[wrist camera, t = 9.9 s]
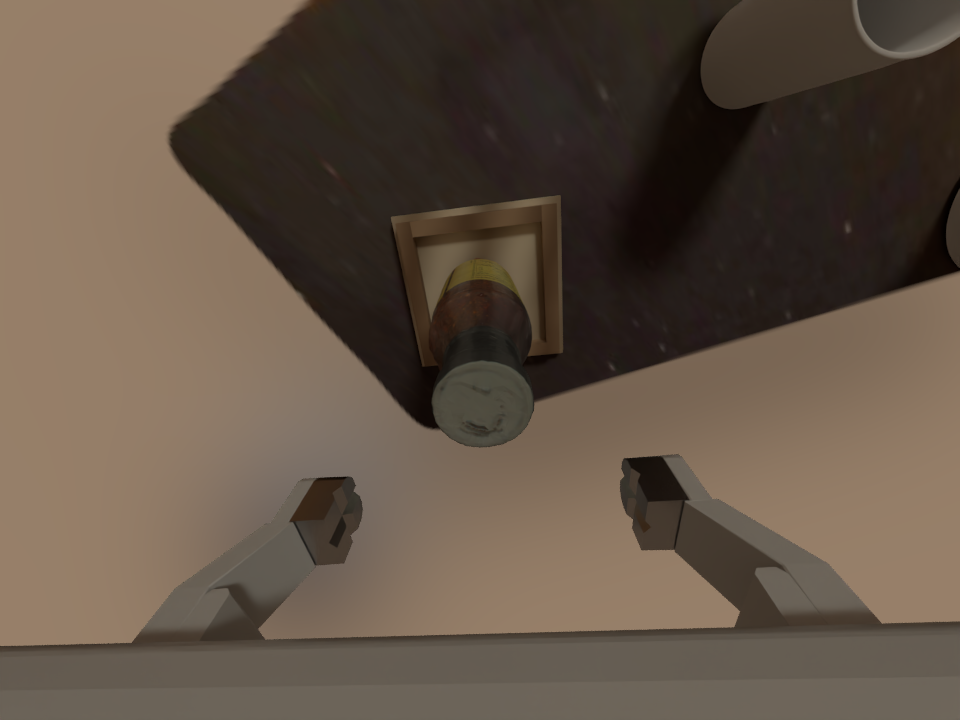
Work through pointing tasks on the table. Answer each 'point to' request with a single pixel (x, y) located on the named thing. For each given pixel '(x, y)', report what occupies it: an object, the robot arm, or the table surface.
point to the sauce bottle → (481, 356)
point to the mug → (816, 44)
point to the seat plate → (491, 236)
